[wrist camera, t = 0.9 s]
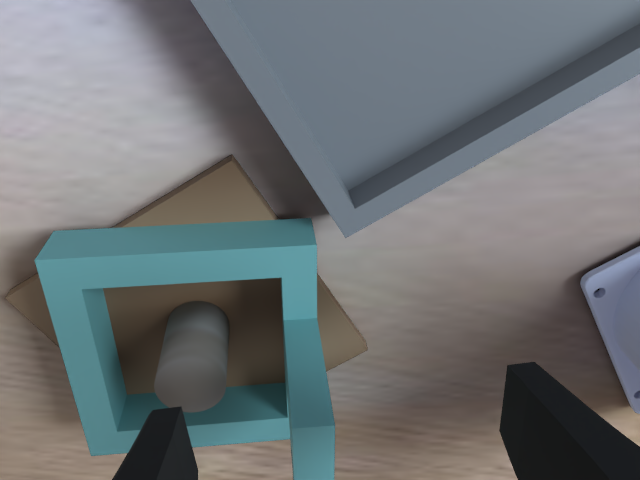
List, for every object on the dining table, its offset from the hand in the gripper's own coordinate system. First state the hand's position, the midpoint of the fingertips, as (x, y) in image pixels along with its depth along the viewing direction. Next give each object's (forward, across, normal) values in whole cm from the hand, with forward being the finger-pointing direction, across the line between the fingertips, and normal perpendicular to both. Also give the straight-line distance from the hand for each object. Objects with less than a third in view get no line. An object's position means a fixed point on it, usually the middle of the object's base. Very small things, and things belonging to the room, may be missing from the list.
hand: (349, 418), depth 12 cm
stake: (+10, +5, +4) cm, 12 cm away
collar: (+9, +5, +4) cm, 11 cm away
